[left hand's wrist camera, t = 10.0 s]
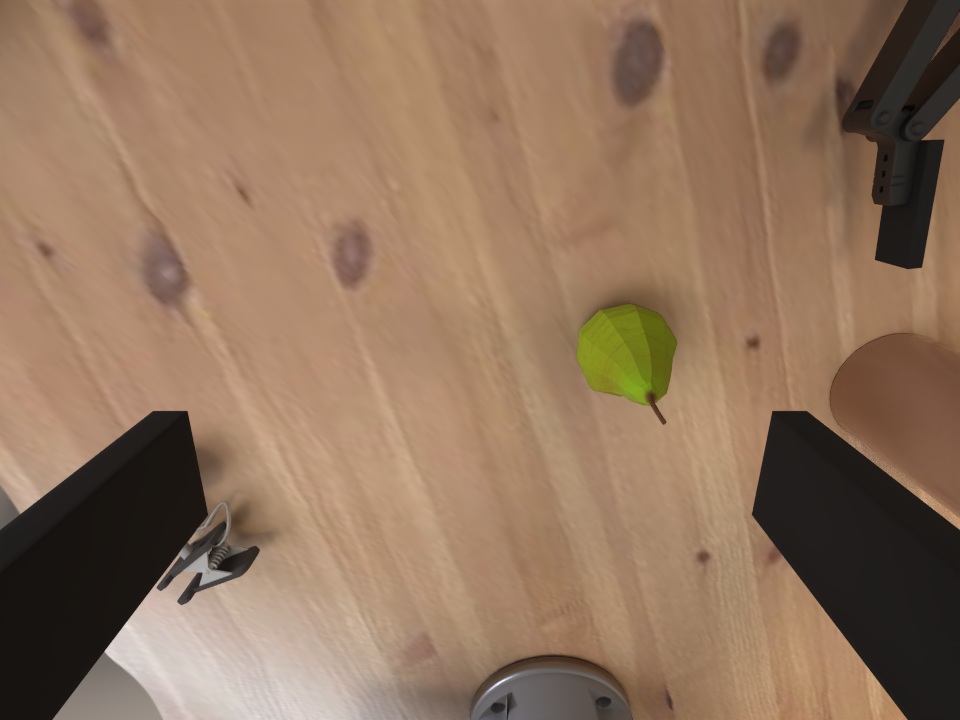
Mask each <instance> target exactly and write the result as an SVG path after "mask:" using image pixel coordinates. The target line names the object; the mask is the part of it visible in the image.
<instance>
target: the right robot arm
mask: <svg viewBox="0 0 960 720" xmlns="http://www.w3.org/2000/svg"><path fill="white" fill-rule="evenodd" d="M959 11H960V0H908V2H907V4H906V6H905V7H904V9H903V11H902V13H901V15H900V16H899V18H898V20H897V22H896V24H895V25H894V27H893V29H892V31H891V33H890V34H889V36H888V38H887V40H886V42H885V43H884V45H883V47H882V49H881V51H880V52H879V54H878V56H877V58H876V60H875V61H874V63H873V65H872V67H871V69H870V70H869V72H868V74H867V76H866V78H865V79H864V81H863V83H862V85H861V87H860V88H859V90H858V92H857V94H856V96H855V97H854V99H853V101H852V103H851V105H850V106H849V108H848V110H847V112H846V114H845V115H844V118H843V120H842V126H843V129H844V130H845V131H846V132H850V133H859V134H862V135H865V136H866V138H867V140H869V141H871V142H877V145H878V152H877V160H876V167H875V174H874V175H875V177H874V182H873V183H874V185H873V189H872V198H873V202H874V204H879V205H883V207H882V214H881V221H880V228H879V235H878V242H877V249H876V256H875V260H877V261H881V262H884V263H888V264H891V265H895V266H899V267H902V268H906V269H913V268H922V264H923V258H924V253H925V247H926V241H927V236H928V230H929V224H930V219H931V213H932V207H933V202H934V196H935V190H936V185H937V179H938V173H939V168H940V162H941V156H942V151H943V145H944V140H921V139H922V138H924V137H925V136H926V135H927V134H928V133H929V132H930V131H931V129H932V128H933V127H934V126H935V125H936V124H937V123H938V122H939V120H940V119H941V118H942V117H943V116H944V115H945V114H946V113H947V112H948V110H949V109H950V108H951V107H952V106H953V105H954V104H955V103H956V101H957V100H958V99H959V98H960V28H959V29H958V31H957V32H956V33H955V34H954V35H953V36H952V38H951V39H950V40H949V41H948V42H947V43H946V45H945V46H944V47H943V48H942V49H941V50H940V52H939V53H938V54H937V55H936V56H935V57H934V59H933V60H932V61H931V62H930V60H931V59H932V57H933V55H934V54H935V52H936V50H937V48H938V47H939V45H940V43H941V42H942V40H943V38H944V37H945V35H946V33H947V31H948V30H949V28H950V26H951V25H952V23H953V21H954V19H955V18H956V16H957V14H958V13H959ZM929 62H930V63H929Z"/></svg>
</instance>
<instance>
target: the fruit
mask: <svg viewBox="0 0 960 720" xmlns="http://www.w3.org/2000/svg"><path fill="white" fill-rule="evenodd" d="M676 345H677V340H676V338H675V336H674V335H673V333H672V331H671V330H670V328H669V326H668V325H667V323H666V322H665V320H664V318H663V317H662V316H661V315H660V314H659V313H657V312H655V311H652V310H649V309H645V308H642V307H639V306H636V305H633V304H626V305H621V306H617V307H612V308H607V309H603V310H599V311H598V312H597V313H596V314H595V315H594V316H593V317H592V318H591V319H590V320H589V321H588V322H587V323H586V324H585V325H584V326H583V327H582V328H581V329H580V330H579V337H578V346H577V354H576V359H577V361H578V363H579V365H580V367H581V369H582V371H583V373H584V375H585V377H586V380H587V382H588V384H589V386H590V388H592V389H593V390H595V391H599V392H604V393H608V394H612V395H617V396H625V397H626V398H627V399H628V400H630V401H632V402H635V403H639V404H642V405H646V406H649V405H651V407H652V408H653V410H654V412H655V413H656V415H657V417H658V418H659V420H660V421H661V423H662V424H663V425H664V424H665V423H666V421H665V419H664V418H663V416H662V414H661V413H660V411H659V410H658V408H657V406H656V404H655V403H656V402H657V401H658V400H659V399H661V398H662V397H663V396H664V395H665V394H666V393H667V390H668V386H669V381H670V377H671V370H672V361H673V356H674V352H675V349H676Z"/></svg>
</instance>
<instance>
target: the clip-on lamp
mask: <svg viewBox="0 0 960 720" xmlns="http://www.w3.org/2000/svg"><path fill="white" fill-rule="evenodd" d="M223 504H224V505H225V507H226V512H227V524H226V523H225V522H222V523H221V524H219V525H218V526H217V527H216V528H215V529H213V530H212V531H211V532H210V533H208V534H207V535H206V536H205V537H204V538H202V539H201V540H200V541H199V542H197V543H196V542H193V543H192V544H191V545H189V544H188V543H186V545H185V546H184V547H183V548H182V550H181V551H180V552H179V555H180V558H179V559H178V560H177V561H176V563H175V564H174V565H173V567H172V568H171V569H170V571H169V572H168V573H167V574H166V576H165V577H164V578H163V580H162V581H161V582H160V583H159V585H158V586H157V589H158V590H160V591H161V590H163V589H164V588H166V587H167V586H168V585H169V584H170V582H171V581H172V580H173V578H174V577H176V576H177V575H178V574H179V573H181V572H198V573H197V574H196V576H195V577H194V578H193V580H192V581H191V583H190V584H189V585H188V587H187V588H186V590H185V591H184V592H183V594H182V595H181V597H180V598H179V599H178V601H177V602H178V603H179V604H180V605H183V604H185V603H187V602H189V601H190V600H191V598H192V597H193V596H194V594H195V593H196V592H199V591H201V590H204V589H207V588H210V587H212V586H215V585H218V584H221V583H223V582H226V581H229V580H232V579H235V578H237V577H240V576H242V575H243V574H244V573H245V572H246V571H247V570H248V569H249V568H250V566H251V565H252V563H253V561H254V560H255V558H256V557H257V555H258V553H259V551H260V550H259V548H258V547H256V546H253V547H251V548H244V547H238V546H232V545H228V543H227V542H226V538H227V536H228V535H229V532H230V529H231V510H230V506H229V504H228V502H226V501H223V502H221V503H219V504H218V505H217V507H216V508H215V509H214V511H213V512H212V513H211V515H210V517H209V518H208V520H207V522H206V524H204V525H201V526H199V527H198V529H197V530H196V531H198V530H201V529H204V528H206V527H208V526H209V525H210V524H211V522H212V520H213V518H214V516H215V514H216V513H217V511H218V509H219V508H220V507H221V505H223ZM210 548H213V549H212V551H211V552H210V554H209V555H208V550H209V549H210Z"/></svg>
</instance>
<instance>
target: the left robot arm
mask: <svg viewBox="0 0 960 720" xmlns="http://www.w3.org/2000/svg"><path fill="white" fill-rule="evenodd" d="M207 516H208V512H207V507H206V502H205V497H204V492H203V487H202V482H201V477H200V472H199V467H198V462H197V456H196V451H195V446H194V441H193V436H192V431H191V426H190V421H189V416H188V411H153V412H152V413H150V414H149V415H148V416H146V417H145V418H144V419H143V420H141V421H140V422H139V423H137V424H136V425H135V426H134V427H132V428H131V429H130V430H128V431H127V432H126V433H124V434H123V435H122V436H121V437H119V438H118V439H117V440H115V441H114V442H113V443H112V444H110V445H109V446H108V447H106V448H105V449H104V450H103V451H101V452H100V453H99V454H97V455H96V456H95V457H94V458H92V459H91V460H90V461H88V462H87V463H86V464H85V465H83V466H82V467H81V468H79V469H78V470H77V471H76V472H74V473H73V474H72V475H70V476H69V477H68V478H67V479H65V480H64V481H63V482H61V483H60V484H59V485H58V486H56V487H55V488H54V489H52V490H51V491H50V492H49V493H47V494H46V495H45V496H43V497H42V498H41V499H40V500H38V501H37V502H36V503H34V504H33V505H32V506H31V507H29V508H28V509H27V510H25V511H24V512H23V513H22V514H20V515H19V516H18V517H16V518H15V519H14V520H13V521H11V522H10V523H9V524H7V525H6V526H5V527H4V528H2V529H1V530H0V720H52V719H53V718H54V717H55V715H56V714H57V713H58V711H59V710H60V709H61V708H62V706H63V705H64V704H65V702H66V701H67V700H68V698H69V697H70V696H71V694H72V693H73V692H74V690H75V689H76V688H77V687H78V685H79V684H80V682H81V681H82V680H83V679H84V677H85V676H86V675H87V673H88V672H89V671H90V669H91V668H92V667H93V665H94V664H95V663H96V662H97V660H98V659H99V658H100V656H101V655H102V654H103V652H104V651H105V650H106V648H107V647H108V646H109V644H110V643H111V642H112V641H113V639H114V638H115V637H116V635H117V634H118V633H119V631H120V630H121V629H122V627H123V626H124V625H125V623H126V622H127V621H128V619H129V618H130V617H131V616H132V614H133V613H134V612H135V610H136V609H137V608H138V606H139V605H140V604H141V602H142V601H143V600H144V598H145V597H146V596H147V594H148V593H149V592H150V591H151V589H152V588H153V587H154V585H155V584H156V583H157V581H158V580H159V579H160V577H161V576H162V575H163V573H164V572H165V571H166V569H167V568H168V567H169V566H170V564H171V563H172V562H173V560H174V559H175V558H176V556H177V555H178V554H179V552H180V551H181V550H182V548H183V547H184V546H185V545H186V543H187V542H188V541H189V539H190V538H191V537H192V535H193V534H194V533H195V531H196V530H197V529H198V527H199V526H200V525H201V523H202V522H203V521H204V520H205V518H206V517H207ZM752 516H753V517H754V518H755V520H756V521H757V522H758V523H759V525H760V526H761V527H762V529H763V530H764V531H765V533H766V534H767V535H768V537H769V538H770V539H771V541H772V542H773V543H774V545H775V546H776V547H777V548H778V550H779V551H780V552H781V554H782V555H783V556H784V558H785V559H786V560H787V562H788V563H789V564H790V566H791V567H792V568H793V569H794V571H795V572H796V573H797V575H798V576H799V577H800V579H801V580H802V581H803V583H804V584H805V585H806V587H807V588H808V589H809V591H810V592H811V593H812V594H813V596H814V597H815V598H816V600H817V601H818V602H819V604H820V605H821V606H822V608H823V609H824V610H825V612H826V613H827V614H828V616H829V617H830V618H831V619H832V621H833V622H834V623H835V625H836V626H837V627H838V629H839V630H840V631H841V633H842V634H843V635H844V637H845V638H846V639H847V641H848V642H849V643H850V644H851V646H852V647H853V648H854V650H855V651H856V652H857V654H858V655H859V656H860V658H861V659H862V660H863V662H864V663H865V664H866V665H867V667H868V668H869V669H870V671H871V672H872V673H873V675H874V676H875V677H876V679H877V680H878V681H879V683H880V684H881V685H882V687H883V688H884V689H885V690H886V692H887V693H888V694H889V696H890V697H891V698H892V700H893V701H894V702H895V704H896V705H897V706H898V708H899V709H900V710H901V712H902V713H903V714H904V715H905V717H906V718H907V719H908V720H960V530H959V529H958V528H956V527H955V526H954V525H953V524H951V523H950V522H949V521H947V520H946V519H945V518H944V517H942V516H941V515H940V514H938V513H937V512H936V511H935V510H933V509H932V508H931V507H929V506H928V505H927V504H926V503H924V502H923V501H922V500H920V499H919V498H918V497H917V496H915V495H914V494H913V493H911V492H910V491H909V490H908V489H906V488H905V487H904V486H902V485H901V484H900V483H899V482H897V481H896V480H895V479H893V478H892V477H891V476H890V475H888V474H887V473H886V472H884V471H883V470H882V469H881V468H879V467H878V466H877V465H875V464H874V463H873V462H872V461H870V460H869V459H868V458H866V457H865V456H864V455H863V454H861V453H860V452H859V451H857V450H856V449H855V448H854V447H852V446H851V445H850V444H848V443H847V442H846V441H845V440H843V439H842V438H841V437H839V436H838V435H837V434H836V433H834V432H833V431H832V430H830V429H829V428H828V427H826V426H825V425H824V424H823V423H821V422H820V421H819V420H817V419H816V418H815V417H814V416H812V415H811V414H810V413H808V412H807V411H772V416H771V421H770V426H769V431H768V436H767V441H766V446H765V451H764V456H763V462H762V467H761V472H760V477H759V482H758V487H757V492H756V497H755V502H754V507H753V512H752ZM470 720H633V718H632V714H631V710H630V707H629V703H628V699H627V696H626V694H625V692H624V690H623V688H622V687H621V685H620V684H619V683H618V682H617V681H616V679H614V678H613V677H612V676H611V675H610V674H609V673H607V672H606V671H604V670H603V669H601V668H599V667H597V666H595V665H593V664H590V663H588V662H585V661H581V660H578V659H573V658H566V657H539V658H533V659H528V660H524V661H521V662H518V663H515V664H512V665H510V666H508V667H506V668H504V669H502V670H500V671H498V672H497V673H495V674H494V675H493V676H491V677H490V678H489V679H488V680H487V681H486V682H485V683H484V684H483V685H482V686H481V687H480V689H479V690H478V692H477V693H476V695H475V697H474V699H473V702H472V705H471V710H470Z"/></svg>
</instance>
